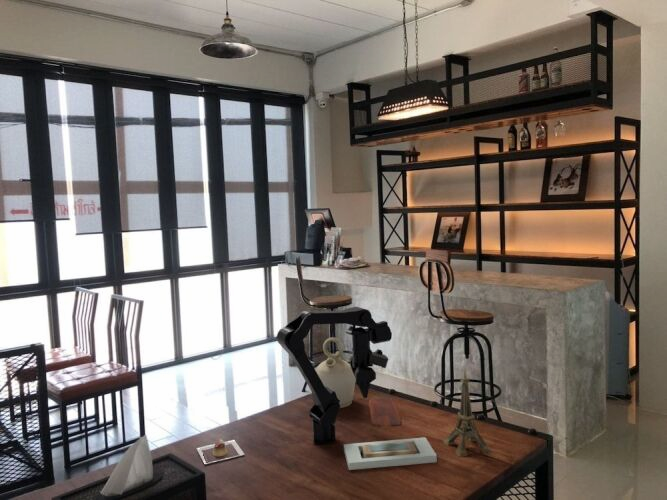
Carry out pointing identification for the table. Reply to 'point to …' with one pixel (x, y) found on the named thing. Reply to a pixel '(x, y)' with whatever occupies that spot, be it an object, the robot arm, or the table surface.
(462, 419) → the eiffel tower
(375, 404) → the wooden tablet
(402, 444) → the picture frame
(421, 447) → the pale grey open frame
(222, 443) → the dessert
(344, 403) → the jug
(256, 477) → the table surface
